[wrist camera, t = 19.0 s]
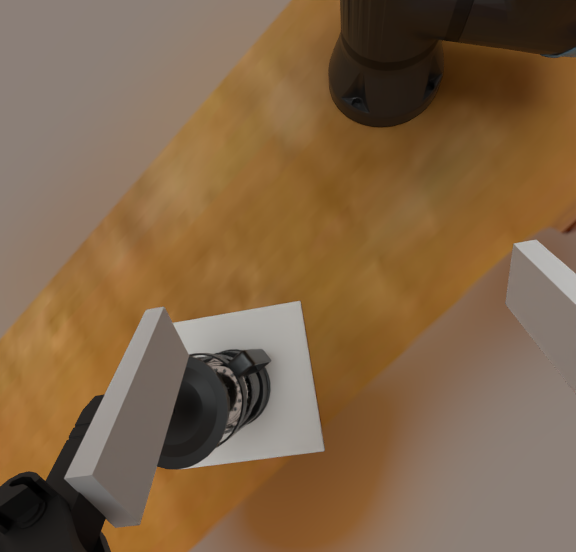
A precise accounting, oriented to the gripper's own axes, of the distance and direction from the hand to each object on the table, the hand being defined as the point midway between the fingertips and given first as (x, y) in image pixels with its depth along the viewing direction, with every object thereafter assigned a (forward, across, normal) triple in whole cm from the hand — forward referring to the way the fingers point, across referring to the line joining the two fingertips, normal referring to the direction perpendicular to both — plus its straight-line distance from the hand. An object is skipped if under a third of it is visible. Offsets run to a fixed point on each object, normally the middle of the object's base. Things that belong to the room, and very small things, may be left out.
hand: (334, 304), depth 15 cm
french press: (+20, -14, -26) cm, 36 cm away
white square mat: (+21, -14, -27) cm, 37 cm away
